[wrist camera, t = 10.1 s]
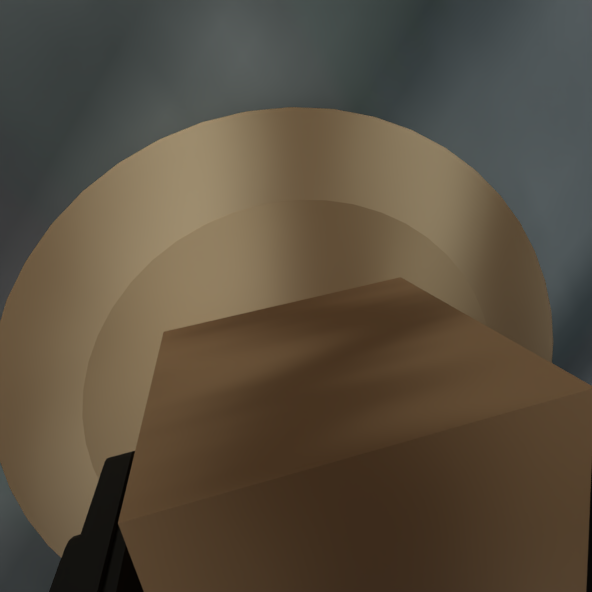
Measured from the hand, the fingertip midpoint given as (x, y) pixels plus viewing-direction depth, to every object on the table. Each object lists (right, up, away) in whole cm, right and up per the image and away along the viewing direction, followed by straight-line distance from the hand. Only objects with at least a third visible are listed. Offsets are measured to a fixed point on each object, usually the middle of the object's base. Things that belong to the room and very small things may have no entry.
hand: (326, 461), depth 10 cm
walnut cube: (0, +1, +2) cm, 2 cm away
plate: (-1, +1, +3) cm, 3 cm away
